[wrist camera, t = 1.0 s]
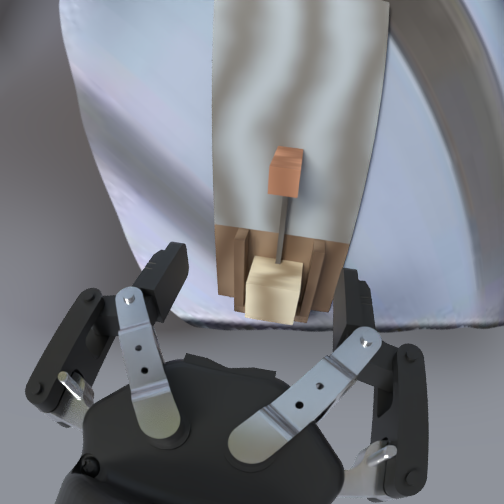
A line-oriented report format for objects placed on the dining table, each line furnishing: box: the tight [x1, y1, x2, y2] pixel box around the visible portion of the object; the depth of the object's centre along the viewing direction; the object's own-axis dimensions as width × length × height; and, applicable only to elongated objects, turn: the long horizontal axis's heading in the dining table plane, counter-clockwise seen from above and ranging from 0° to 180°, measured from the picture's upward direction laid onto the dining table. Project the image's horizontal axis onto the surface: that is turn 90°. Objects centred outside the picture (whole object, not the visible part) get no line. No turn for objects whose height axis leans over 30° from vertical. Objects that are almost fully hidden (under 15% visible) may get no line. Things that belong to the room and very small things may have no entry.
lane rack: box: [212, 0, 389, 323], centre depth 28 cm, size 16×39×3 cm, turn 178°
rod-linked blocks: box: [245, 146, 303, 325], centre depth 30 cm, size 6×20×6 cm, turn 178°
